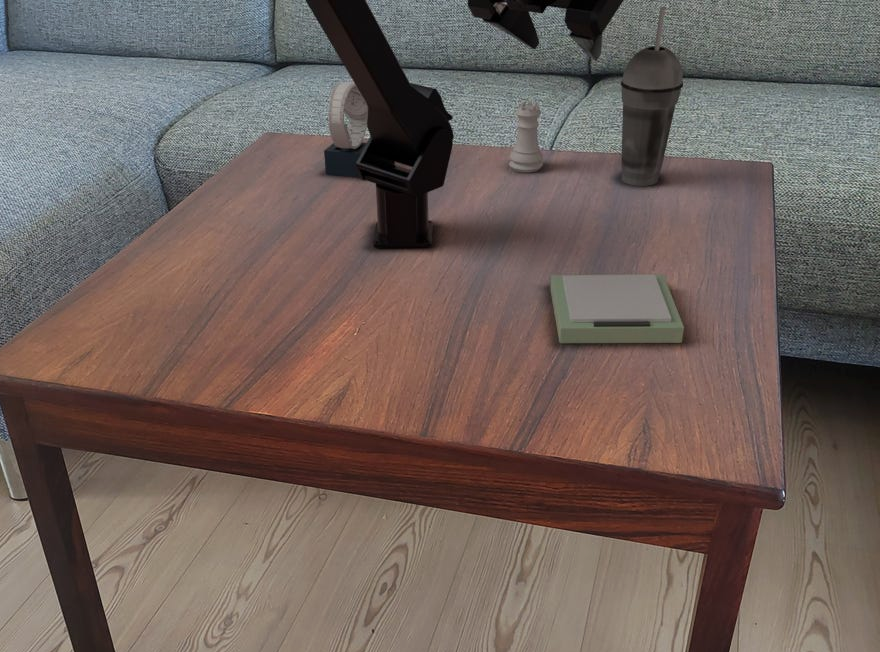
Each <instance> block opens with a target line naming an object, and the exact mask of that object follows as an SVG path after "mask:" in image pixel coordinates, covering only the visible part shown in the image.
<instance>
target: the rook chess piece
mask: <svg viewBox="0 0 880 652" xmlns="http://www.w3.org/2000/svg"><path fill="white" fill-rule="evenodd" d="M541 114H542V111H541V109H540V104H539V103H538V102H533V101H527V104H526V102H525V101H523V102H520V103H519V104H518V108H517V109H516V111H515V115H516V116H517V118H518V122H517V123H516V126H517V136H516V142H515V145H514V147H513V150H512V151H511V153H510V154H509V159H510V161H509V163H508V165H509V167H510V169H511V170H512V171H514V172H517V173H524V174H525V173H526V174H528V173H534V172H538V171H540V170H541V169H542V168H543V166H544V162H543V161H542V160H543V158H544V155H543V153H542V152H541V148H540V146H539V141H538V127H539V125H540V124H539V122H538V118H539V117H540V115H541Z"/></svg>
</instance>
